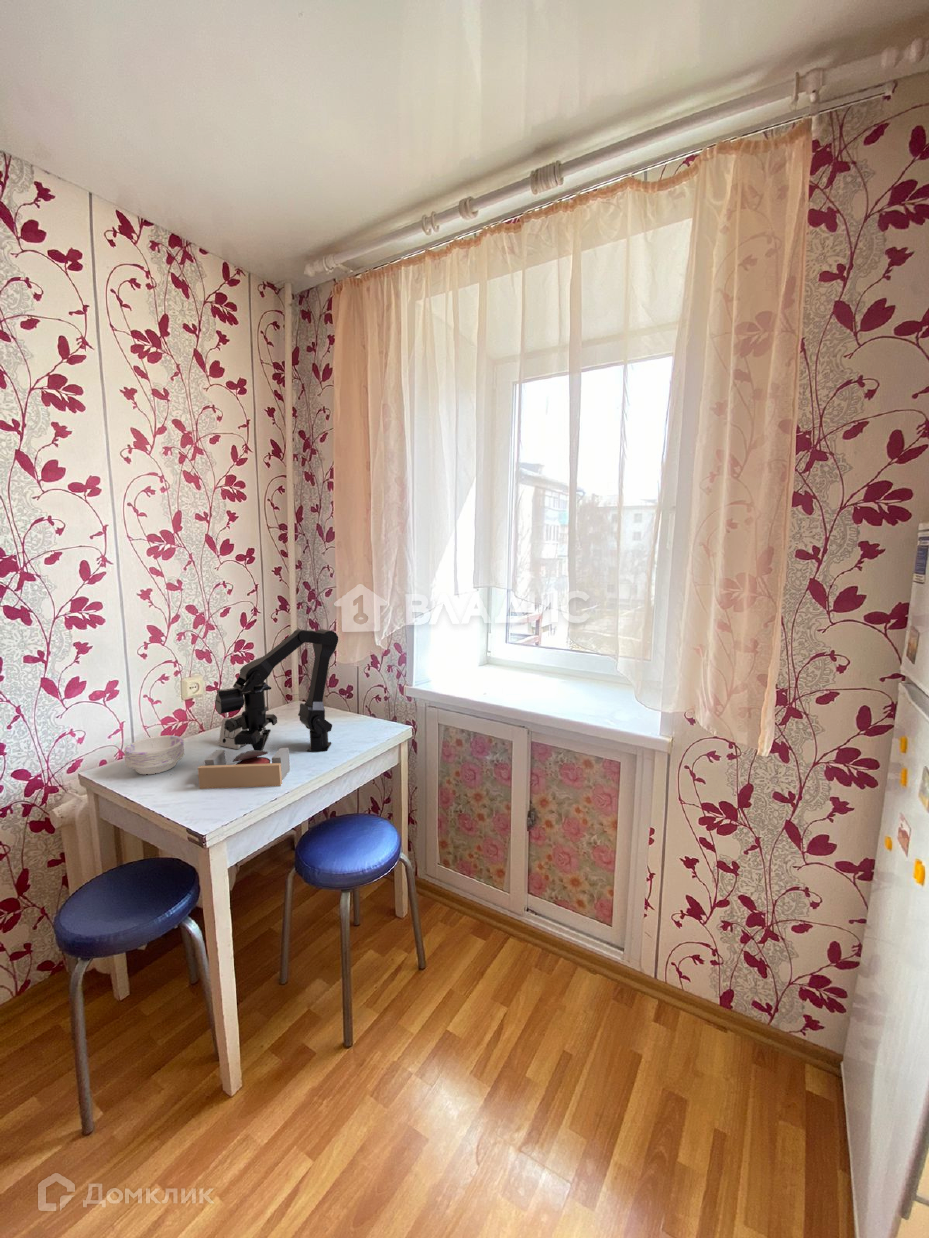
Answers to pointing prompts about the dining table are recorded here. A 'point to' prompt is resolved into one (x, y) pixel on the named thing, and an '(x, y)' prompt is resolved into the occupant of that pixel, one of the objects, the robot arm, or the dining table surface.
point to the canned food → (252, 758)
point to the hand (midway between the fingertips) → (258, 755)
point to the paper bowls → (154, 754)
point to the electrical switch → (229, 736)
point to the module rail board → (243, 772)
